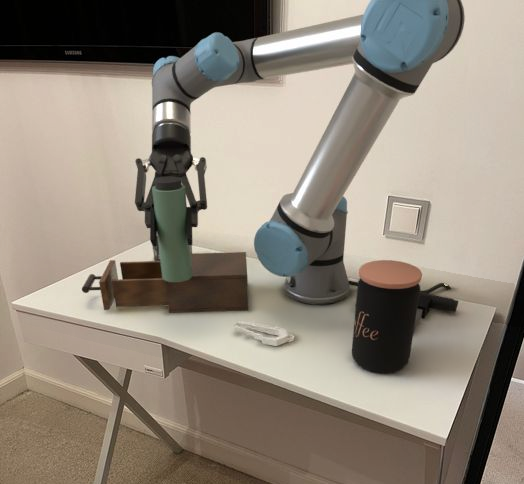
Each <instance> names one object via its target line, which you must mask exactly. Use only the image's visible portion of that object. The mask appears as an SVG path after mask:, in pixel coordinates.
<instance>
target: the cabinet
mask: <svg viewBox="0 0 524 484" xmlns="http://www.w3.org/2000/svg"><path fill="white" fill-rule="evenodd" d="M191 264H192V277H191V278H190V279H189V280H186V281H183V282H168V281H165V282H166V291H167V300H168V306H167V307H168V313H169V314H177V313H211V312H238V311H239V312H241V311H249V289H248V288H249V285H248V282H249V281H248V264H247V252H246V251H242V252H241V251H236V252H235V251H234V252H233V251H232V252H230V251H229V252H199V253H198V252H197V253H195V252H193V253H192V254H191Z"/></svg>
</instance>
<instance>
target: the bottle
mask: <svg viewBox="0 0 524 484" xmlns="http://www.w3.org/2000/svg"><path fill="white" fill-rule="evenodd" d="M153 180H154V179H153ZM154 181H155V186H153V187H152V193H153V202H154V210H155V219H156V228H157V236H158V245H159V254H160V262H161V271H162V278H163V279H164V280H165V281H168V282H183V281H186V280H189V279H190V278H191V277H192V264H191V252H190V245H188V241H187V207H188V205H187V204H188V203H187V196H186V192H185V186H184V185H182V183H181V178H179V177H174V176H166V177H160V178H156V179H155V180H154Z"/></svg>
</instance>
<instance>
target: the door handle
mask: <svg viewBox="0 0 524 484" xmlns="http://www.w3.org/2000/svg"><path fill="white" fill-rule="evenodd" d="M354 305H355V306H354V307H355V308H356V304H354ZM458 305H459V300H456V299H454V298H452V297H447V296H441V295H438V294H432V293H429V294H427V293H423V292H420V293H419V300H418V307H417V313H416V320H415V326H414V328H415V327H416V326H417V324H418V323H419V321H420V320H421V319H423V320H424V319H425V318H426V317H427V315H428V314H429V312H430V310H432V309H434V310H437V311H442V312H447V313H456V311H457V309H458Z"/></svg>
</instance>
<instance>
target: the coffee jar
mask: <svg viewBox="0 0 524 484" xmlns="http://www.w3.org/2000/svg"><path fill="white" fill-rule="evenodd" d="M358 275H359V280H358V285H357V286H356V297H355V305H356V307H355V309H354V321H353V332H352V342H351V343H352V344H351V356H352V359H353V360H354V362H355V363H356V364H357V366H358V367H360V368H361V369H362V370H365V371H367V372H369V373H375V374H380V375H381V374H382V375H387V374H395V373H396V372H399V371H401V370H402V369H403V368H404V367H405V366H407V364H408V363H409V361H410V357H411V351H412V345H413V340H414V331H415V327H416V326H415V320H416V313H417V307H418V300H419V293H420V291H421V286H420V283H421V280H422V278H423V273H422V271H421V270H420V269H419V268H418V267H417V266H415V265H413V264H411V263H408V262H404V261H399V260H394V259H393V260H392V259H391V260H390V259H380V260H372V261H368V262H365V263H364V264H362V265H361V266H360V267H359V269H358ZM414 326H415V327H414Z"/></svg>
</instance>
